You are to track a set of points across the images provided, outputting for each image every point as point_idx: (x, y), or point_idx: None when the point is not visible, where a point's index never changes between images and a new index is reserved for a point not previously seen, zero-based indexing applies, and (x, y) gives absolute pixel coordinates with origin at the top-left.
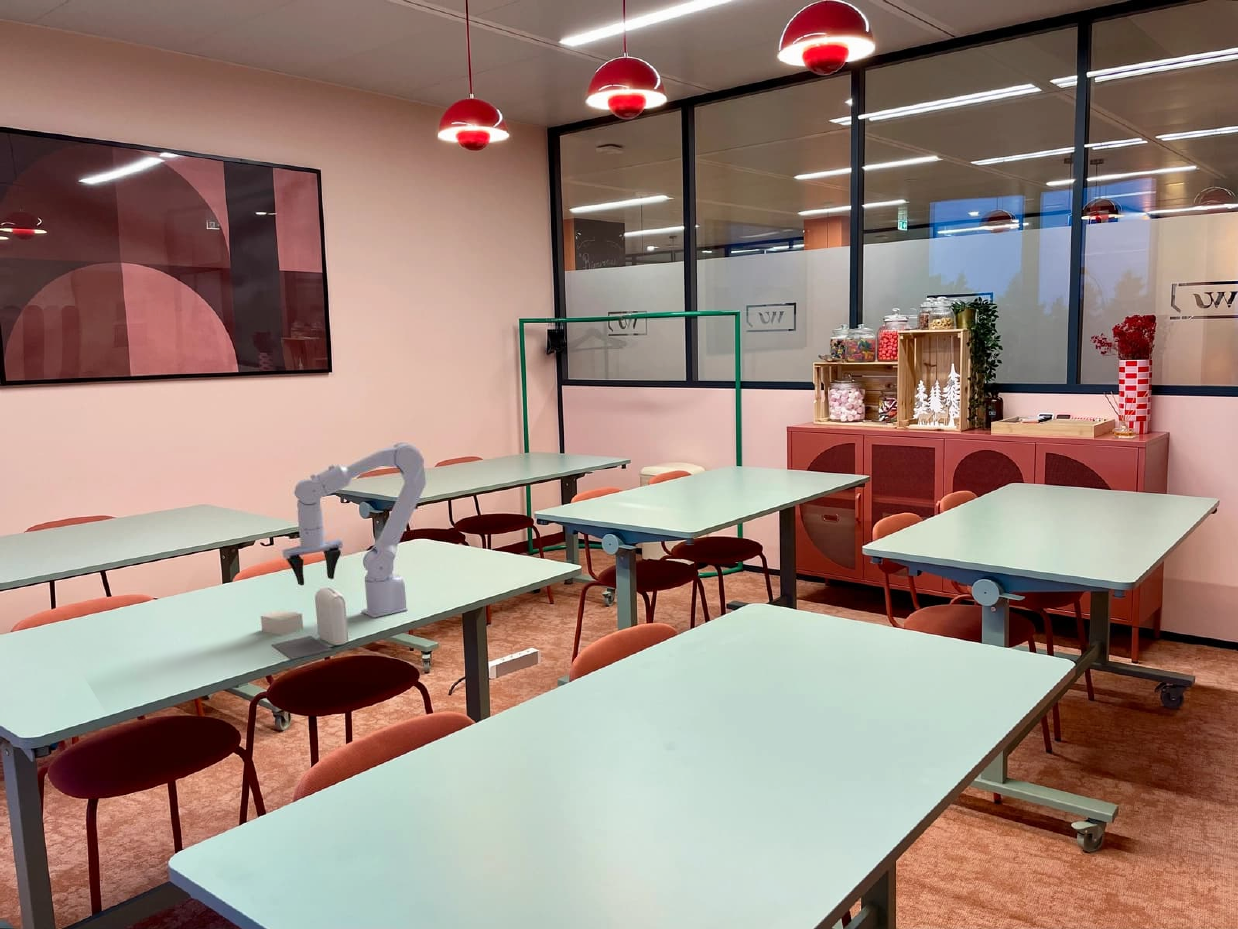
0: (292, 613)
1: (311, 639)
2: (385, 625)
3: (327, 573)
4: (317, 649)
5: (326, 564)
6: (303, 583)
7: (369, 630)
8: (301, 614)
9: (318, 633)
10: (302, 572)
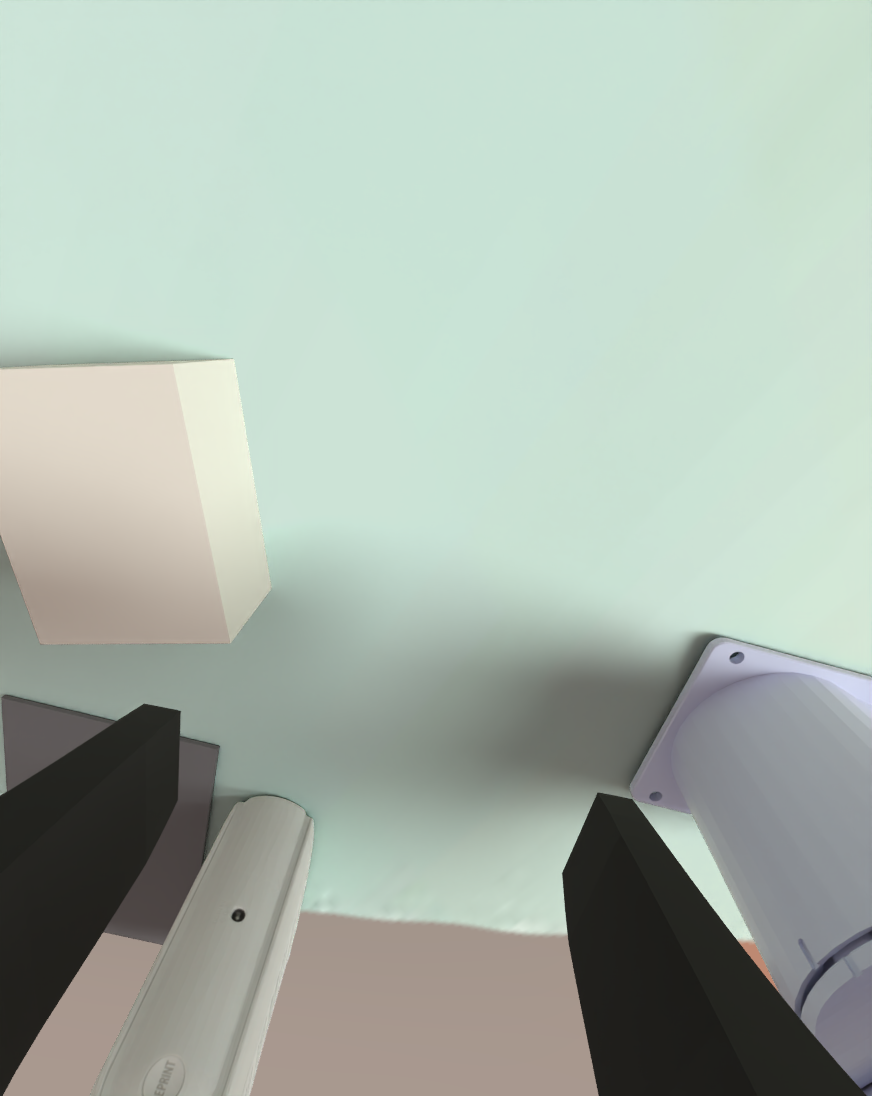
0: (181, 574)
1: (190, 799)
2: (554, 903)
3: (617, 856)
4: (143, 913)
5: (716, 1018)
6: (157, 822)
7: (458, 896)
8: (228, 640)
9: (227, 817)
10: (11, 1055)
